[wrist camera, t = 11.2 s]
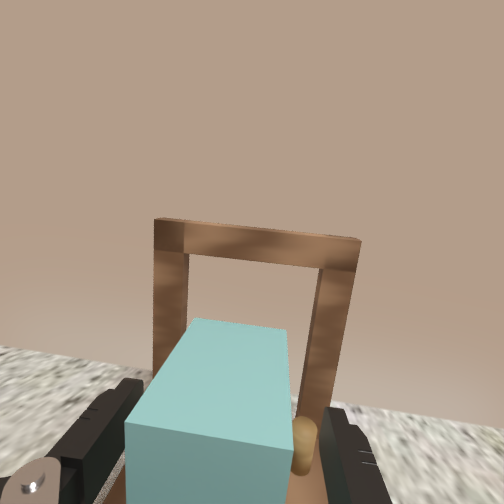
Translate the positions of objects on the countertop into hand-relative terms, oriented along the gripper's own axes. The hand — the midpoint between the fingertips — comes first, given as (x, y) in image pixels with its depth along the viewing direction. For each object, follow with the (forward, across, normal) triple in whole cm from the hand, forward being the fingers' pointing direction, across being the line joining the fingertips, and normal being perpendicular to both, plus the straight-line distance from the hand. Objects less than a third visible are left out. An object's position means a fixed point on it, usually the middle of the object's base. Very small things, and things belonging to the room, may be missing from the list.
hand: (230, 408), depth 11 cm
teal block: (-1, 0, +8) cm, 8 cm away
